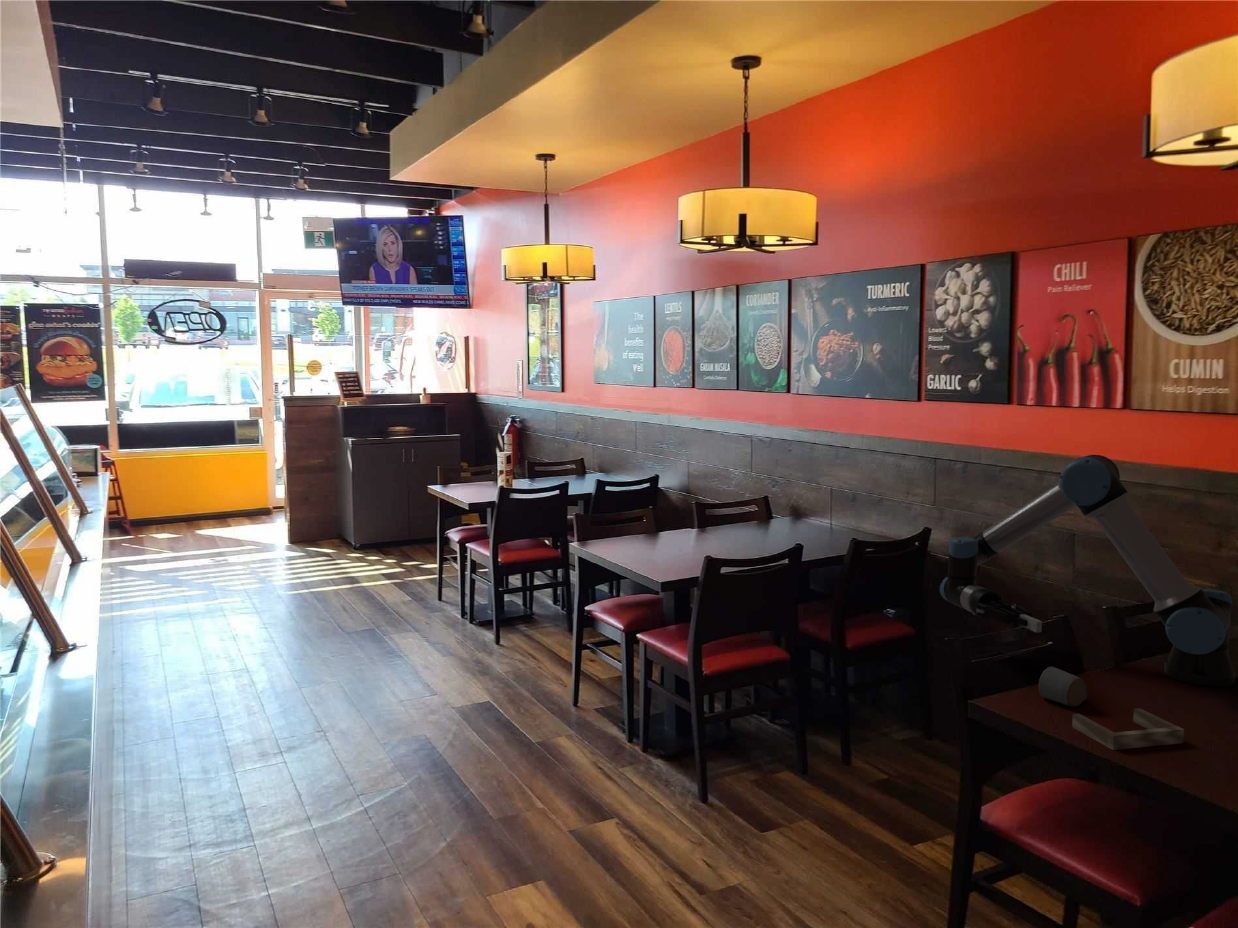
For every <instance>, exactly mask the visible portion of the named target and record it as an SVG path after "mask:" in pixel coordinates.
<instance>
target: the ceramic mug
mask: <svg viewBox="0 0 1238 928" xmlns="http://www.w3.org/2000/svg"><path fill="white" fill-rule="evenodd" d="M1037 687H1038V692H1039V695H1040V696H1041V697H1042V698H1045V699H1047V700H1050V701H1053V702H1056V703H1059V704H1061V705H1064V706H1067V707H1070V708H1071V707H1072V708H1074V707H1078V706H1079V705H1081V704H1082V703H1083V701H1086V700H1087V697H1088V694H1087V684H1086V682H1085V681H1084V680H1083V679H1082V678H1081V677H1078V676H1076V675H1074V674H1072V673H1069V672H1067V671H1064V670H1062V669H1060V668H1057V667H1055V666H1048V667H1046V669H1044V670H1043V671H1042V673H1041V675H1040V677H1039V680H1038V686H1037Z"/></svg>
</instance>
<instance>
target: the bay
mask: <svg viewBox="0 0 1238 928" xmlns="http://www.w3.org/2000/svg"><path fill="white" fill-rule="evenodd" d="M1071 721H1072V722H1071V723H1072V724H1071V725H1072V726H1071V728H1072V727H1073V728H1072V729H1075V730H1076V731H1078V732H1080V733H1082V734H1084V735H1085V736H1087V737H1089V738H1091V739H1092V740H1094V741H1096V742H1098V743H1099V744H1101V745H1104V746H1105V747H1106V748H1108V749H1111V750H1112V751H1117V750H1126V749H1127V750H1128V749H1137V748H1147V747H1148V748H1149V747H1157V746H1169V745H1177V744H1184V735H1185V729H1184V728H1182V727H1180V726H1178V725H1175V724H1174V723H1171V722H1170V721H1167V720H1165V719H1163V718H1162V717H1159V716H1156V714H1153V713H1151V712H1148V711H1146V710H1145V709H1142V708H1138V707H1137V708H1133V719H1132V722H1133V723H1135V724H1137V725H1138V726H1140V727H1142V728H1145V729H1140V730H1139V729H1137V730H1127V731H1117V732H1114V731H1113V730H1110V729H1109V728H1108V727H1105V726H1103V725H1101V724H1099V723H1097V722H1095V721H1093V719H1090V718H1088V717H1087V716H1084V715H1083V714H1080V713H1072V720H1071Z"/></svg>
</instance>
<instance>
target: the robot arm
mask: <svg viewBox="0 0 1238 928" xmlns="http://www.w3.org/2000/svg"><path fill="white" fill-rule="evenodd" d="M1120 477H1121V476H1120V471H1119V468H1118V466H1117V464H1116V463H1115V462H1114V461H1113V460H1112V459H1110V458H1108V457H1107V456H1105V455H1101V454H1088V455H1085V456H1082V457H1077V458H1075V459H1073V460H1071V461H1070V462H1069V463H1068V464H1066V466H1064V468H1063V470H1062V471H1061V473H1060V476H1059V480H1058V482H1057V483H1056V484H1054V485H1053V486H1051V487H1050V488H1048V489H1047V490H1045V491H1043V492H1042V493H1041V494H1039V495H1038V496H1036V497H1034V498H1033V499H1031V500H1030V501H1028V502H1027V503H1025V504H1023V505H1022V506H1020V507H1019V508H1017V509H1016V510H1014V511H1012V512H1011V513H1009V514H1008V515H1006V516H1005V517H1003V518H1002V519H1000V520H998V521H997V522H996V523H994V524H992V525H991V526H989V527H987V528H986V529H985V530H983V531H982V532H980V533H978V534H977V535H975V536H973V537H969V536H954V537H952V538H950V540H949V547H948V563H947V564H948V566H947V567H948V568H947V576H946V577H945V578H944V579H943V580H942V582H941V584H940V586H939V593H940V595H941V597H942V598H943V600H945V601H947V602H949V603H950V604H951V605H953V606H957V607H959V608H961V609H964V610H966V611H968V612H970V613H972V615H973V616H978V617H981V618H983V619H984V620H985V619H986V620H994V621H997V622H999V623H1003V624H1006V625H1010V624H1012V625H1013V628H1018V627H1019V626H1021V627H1023V628H1024V629H1027V630H1029V631H1032V632H1034V633H1042V627H1043V626H1042V625H1043V621H1042V620H1039V619H1037V618H1035V617H1033V613H1032V612H1031V611H1030V610H1028V609H1027V608H1025V607H1024V606H1022V605H1021V603H1017V602H1016V603H1014V604H1013V605H1011V604H1010V603H1008V602H1006V601H1005V600H1002V598H1001V597H1000V595H999V593H996V592H994V591H992V590H990V589H987V588H985V587H982V586H980V585H977V584H976V583H977V570H978V566H981V564H984V563H987V562H989V561H990V560H991V559H992V558H994V557H995V556H997V555H998V554H1000V553H1002V552H1003V551H1005V550H1006V549H1008V548H1009V547H1012V546H1013V545H1014V544H1016V543H1017V542H1019V541H1021V540H1023V539H1025V538H1026V537H1028V536H1029V535H1031V534H1032V533H1034V532H1036V531H1037V530H1039V529H1041V528H1042V527H1044V526H1046V525H1047V524H1049V523H1050V522H1052V521H1054V520H1056V519H1057V518H1059V517H1060V516H1062V515H1064V513H1067V512H1068V511H1070V510H1071V509H1073V508H1075V507H1077V508H1078V510H1079V511H1080V512H1081V513H1082V515H1083V517H1084V518H1089V519H1093V520H1095V522H1096V523H1097V525H1099V527H1100V528H1101V530H1102V532H1104V534H1105V535H1106V536H1107V539H1108V540H1109V541H1110V542H1111V543H1112V545H1113V546H1114V548H1115V549H1116V550H1117V551H1118V553H1119V554H1120V555H1121V557H1122V558H1123V559H1124V561H1125V562H1126V564H1127V565H1128V567H1129V568H1130V570H1131V571H1132V572H1133V573H1134V575H1135V577H1137V579H1138V580H1139V582H1140V583H1141V584H1142V586H1143V587H1144V588H1145V590H1146V592H1147V593H1148V594H1149V595H1150V597H1151V598H1152V599H1153V601H1154V607H1153V612H1154V613H1155V615H1156V616H1157V617H1158V618H1159V620H1160V622H1161V623H1162V624H1163V626H1164V627H1165V633H1166V637H1167V638H1168V640H1169V642H1171V644H1172V647H1171V649H1170V651H1169V655H1168V656H1167V659H1166V660H1165V662H1164V667H1163V668H1164V671H1163V672H1164V674H1165V675H1167V676H1168V677H1170V678H1172V679H1175V680H1177V681H1180V682H1184V683H1188V684H1191V685H1192V684H1193V685H1197V686H1204V687H1214V688H1215V687H1216V688H1217V687H1219V688H1221V687H1230V686H1233V685H1234V684H1235V683H1236V672H1235V670H1234V669H1233V664H1232V660H1231V657H1230V652H1229V645H1230V643H1229V642H1230V628H1231V616H1232V614H1231V613H1232V607H1233V602H1232V595H1231V594H1230V593H1229V592H1226V591H1223V590H1217V589H1210V588H1204V587H1200V586H1196V585H1193V584H1191V583H1189V581H1187V579H1186V578H1185V577H1184V575H1183V573H1181V571H1180V570H1179V568H1177V566H1176V565H1175V563H1174V562H1173V561H1172V559H1171V558H1170V556H1169V555H1168V554H1167V553H1166V551H1165V550H1164V548H1163V547H1162V546H1161V545H1160V544H1159V542H1158V540H1156V538H1155V536H1154V535H1153V534H1152V533H1151V532H1150V530H1149V528H1148V527H1147V525H1145V523H1144V522H1143V521H1142V519H1141V518H1140V516H1139V515H1138V514H1137V513H1136V512H1135V510H1134V508H1132V506H1131V505H1130V504H1129V502H1128V497H1129V491H1128V490H1127V489H1126V487H1125V486H1124V484H1123V483H1122V482H1121V481H1120ZM1234 682H1235V683H1234ZM1233 683H1234V684H1233Z"/></svg>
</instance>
